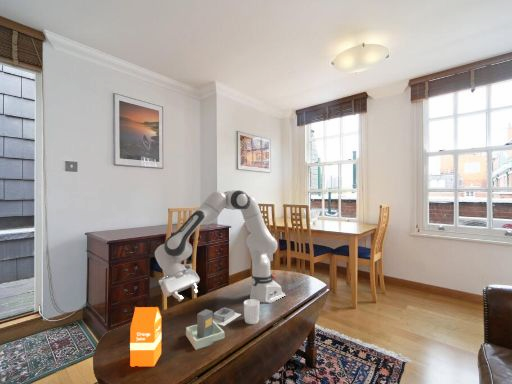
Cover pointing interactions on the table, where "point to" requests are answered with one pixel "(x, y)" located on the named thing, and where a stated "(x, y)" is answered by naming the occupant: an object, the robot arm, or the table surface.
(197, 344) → the sage tray
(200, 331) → the gray rectangular block
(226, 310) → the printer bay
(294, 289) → the table surface
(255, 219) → the robot arm
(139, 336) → the orange juice
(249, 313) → the white cup
